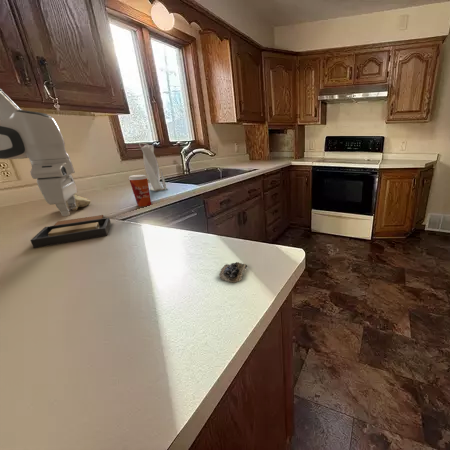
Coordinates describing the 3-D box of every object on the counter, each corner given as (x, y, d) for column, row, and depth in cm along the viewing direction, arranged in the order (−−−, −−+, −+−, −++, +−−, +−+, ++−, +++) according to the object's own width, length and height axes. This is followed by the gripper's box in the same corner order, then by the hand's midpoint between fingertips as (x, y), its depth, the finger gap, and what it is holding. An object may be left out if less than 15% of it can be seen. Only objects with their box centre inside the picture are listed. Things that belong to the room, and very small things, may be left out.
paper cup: (140, 208, 112) (132, 177, 108) (132, 205, 116) (124, 176, 111) (157, 204, 119) (150, 175, 114) (148, 202, 122) (142, 174, 118)
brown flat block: (50, 230, 86) (50, 228, 86) (58, 222, 95) (57, 221, 94) (100, 222, 93) (99, 221, 93) (103, 216, 101) (102, 214, 101)
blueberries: (246, 263, 61) (245, 256, 61) (251, 279, 54) (251, 272, 53) (218, 268, 59) (217, 261, 58) (220, 285, 52) (219, 278, 51)
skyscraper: (153, 192, 146) (142, 142, 136) (146, 190, 150) (135, 142, 141) (167, 189, 153) (157, 142, 143) (160, 188, 157) (150, 142, 147)
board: (50, 239, 77) (47, 233, 76) (54, 234, 81) (52, 228, 80) (97, 231, 83) (96, 226, 82) (99, 227, 87) (98, 222, 86)
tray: (33, 248, 72) (30, 240, 71) (47, 234, 83) (45, 226, 82) (107, 235, 81) (104, 228, 80) (111, 224, 92) (109, 217, 91)
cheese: (74, 209, 120) (39, 195, 106) (84, 196, 122) (51, 182, 108) (94, 221, 116) (60, 209, 102) (104, 209, 118) (72, 195, 104)
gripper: (50, 166, 82) (65, 206, 86) (27, 173, 65) (47, 222, 70) (74, 165, 85) (87, 203, 89) (59, 171, 68) (76, 217, 73)
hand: (70, 211), depth 79 cm, fingers open, 8 cm apart
